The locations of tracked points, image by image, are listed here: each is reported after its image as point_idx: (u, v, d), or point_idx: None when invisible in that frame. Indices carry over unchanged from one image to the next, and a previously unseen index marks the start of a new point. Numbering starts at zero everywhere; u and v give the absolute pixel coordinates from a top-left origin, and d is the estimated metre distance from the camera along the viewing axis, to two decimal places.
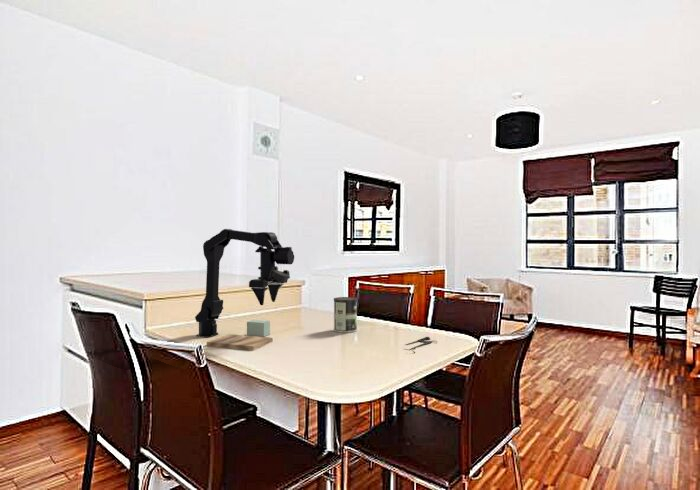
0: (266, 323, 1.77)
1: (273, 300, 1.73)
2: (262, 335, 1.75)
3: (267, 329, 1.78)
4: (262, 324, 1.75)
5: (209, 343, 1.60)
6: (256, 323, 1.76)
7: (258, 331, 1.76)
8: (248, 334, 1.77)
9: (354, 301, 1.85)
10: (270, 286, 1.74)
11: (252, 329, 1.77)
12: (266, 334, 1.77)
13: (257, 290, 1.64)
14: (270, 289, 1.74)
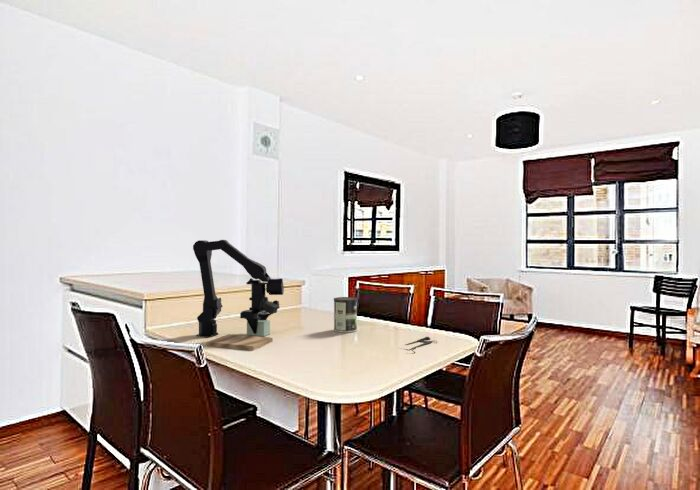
0: (266, 323, 1.77)
1: None
2: (262, 335, 1.75)
3: (267, 329, 1.78)
4: (262, 324, 1.75)
5: (209, 343, 1.60)
6: None
7: (258, 331, 1.76)
8: (248, 334, 1.77)
9: (354, 301, 1.85)
10: (259, 316, 1.82)
11: None
12: (266, 334, 1.77)
13: (251, 320, 1.75)
14: (259, 319, 1.82)
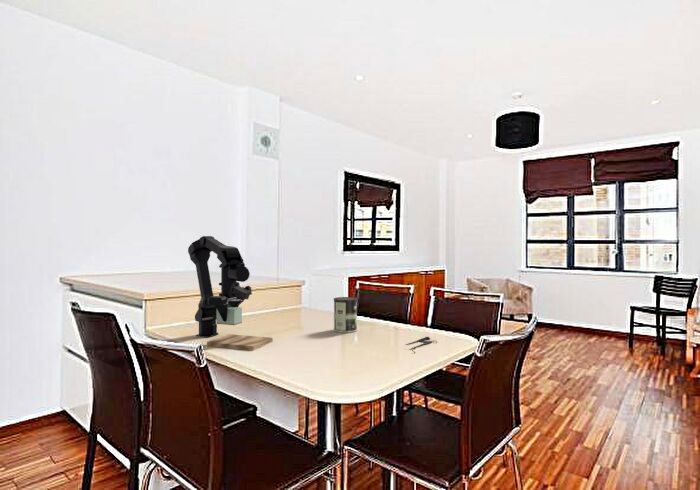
0: (237, 310, 1.64)
1: None
2: (232, 323, 1.62)
3: (238, 316, 1.65)
4: (232, 311, 1.62)
5: (209, 343, 1.60)
6: None
7: (229, 319, 1.63)
8: (218, 322, 1.64)
9: (354, 301, 1.85)
10: (230, 303, 1.69)
11: None
12: (237, 322, 1.64)
13: (220, 306, 1.62)
14: (230, 306, 1.69)
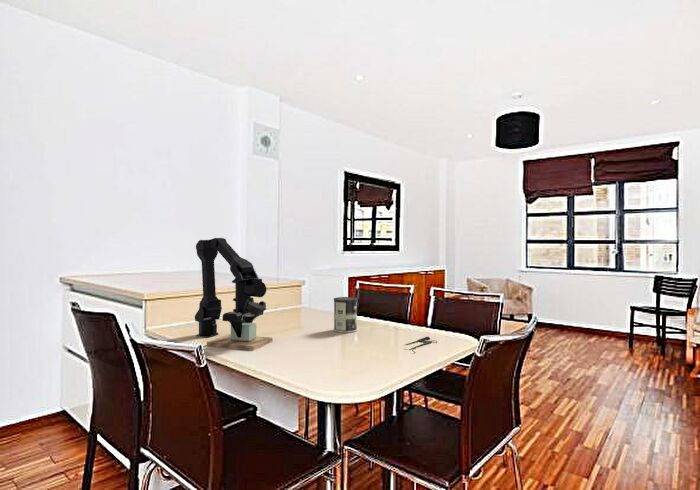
0: (252, 326, 1.62)
1: None
2: (247, 339, 1.60)
3: (253, 332, 1.63)
4: (247, 327, 1.60)
5: (209, 343, 1.60)
6: None
7: (243, 335, 1.61)
8: (232, 338, 1.62)
9: (354, 301, 1.85)
10: (244, 318, 1.67)
11: None
12: (252, 338, 1.62)
13: (234, 322, 1.60)
14: (244, 321, 1.67)
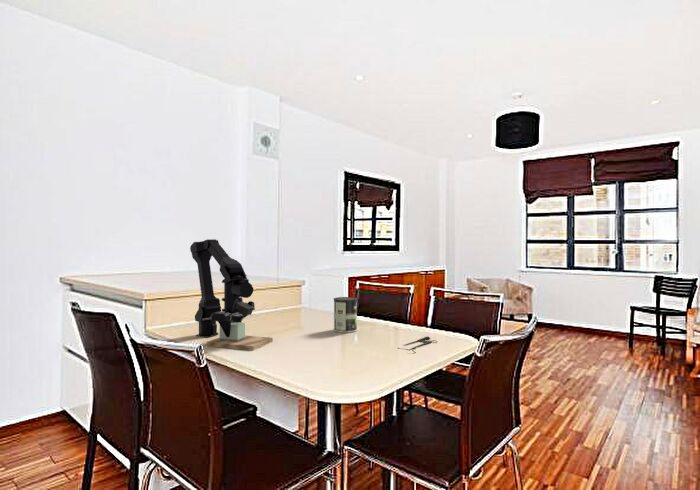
0: (240, 325, 1.64)
1: None
2: (236, 338, 1.62)
3: (241, 332, 1.64)
4: (236, 326, 1.62)
5: (209, 343, 1.60)
6: None
7: (232, 334, 1.62)
8: (221, 337, 1.64)
9: (354, 301, 1.85)
10: (233, 318, 1.69)
11: None
12: (240, 337, 1.64)
13: (223, 322, 1.62)
14: (233, 321, 1.68)
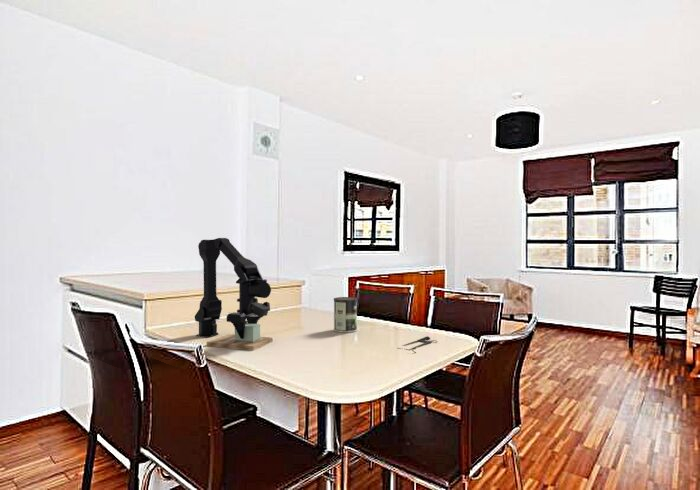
0: (256, 327, 1.61)
1: None
2: (251, 340, 1.60)
3: (257, 333, 1.62)
4: (251, 328, 1.60)
5: (209, 343, 1.60)
6: (245, 327, 1.60)
7: (247, 336, 1.60)
8: (236, 339, 1.62)
9: (354, 301, 1.85)
10: (249, 318, 1.67)
11: None
12: (256, 339, 1.61)
13: (237, 323, 1.59)
14: (249, 321, 1.67)
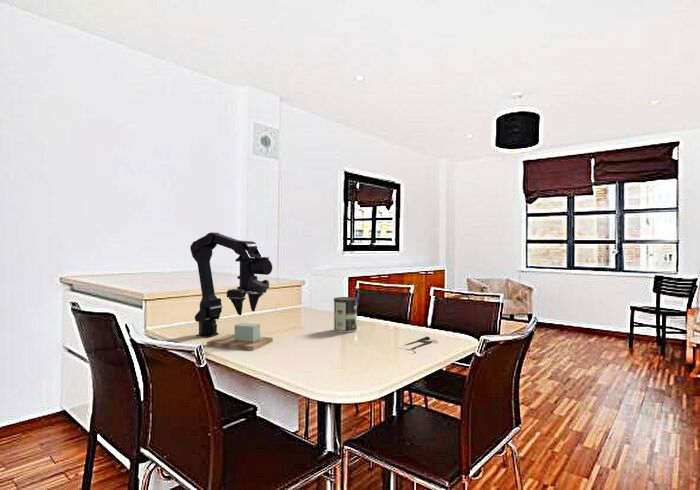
0: (256, 327, 1.61)
1: (253, 309, 1.72)
2: (251, 340, 1.60)
3: (257, 333, 1.62)
4: (251, 328, 1.60)
5: (209, 343, 1.60)
6: (245, 327, 1.60)
7: (247, 336, 1.60)
8: (236, 339, 1.62)
9: (354, 301, 1.85)
10: (250, 295, 1.73)
11: (240, 333, 1.61)
12: (256, 339, 1.61)
13: (235, 300, 1.63)
14: (250, 298, 1.73)
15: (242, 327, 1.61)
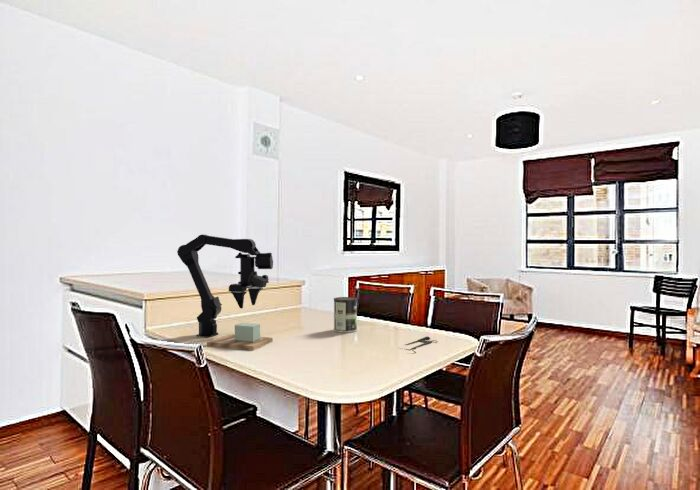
0: (256, 327, 1.61)
1: (253, 303, 1.82)
2: (251, 340, 1.60)
3: (257, 333, 1.62)
4: (251, 328, 1.60)
5: (209, 343, 1.60)
6: (245, 327, 1.60)
7: (247, 336, 1.60)
8: (236, 339, 1.62)
9: (354, 301, 1.85)
10: (250, 290, 1.83)
11: (240, 333, 1.61)
12: (256, 339, 1.61)
13: (237, 294, 1.72)
14: (251, 293, 1.83)
15: (242, 327, 1.61)
